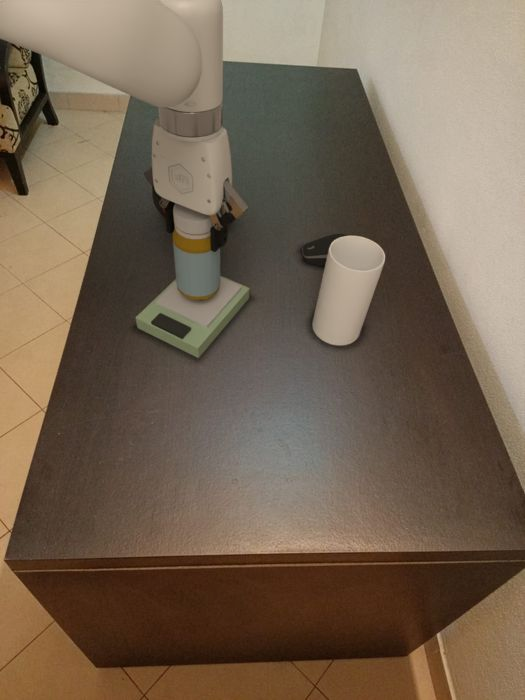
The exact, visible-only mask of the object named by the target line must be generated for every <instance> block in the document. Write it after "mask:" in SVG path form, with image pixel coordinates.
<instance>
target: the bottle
mask: <svg viewBox="0 0 525 700" xmlns="http://www.w3.org/2000/svg"><path fill="white" fill-rule="evenodd" d="M173 214H174V223H175V229H174V232H173V233H172V247H173V257H174V269H175V279H176V282H177V288H178V290H179V292H180V293H181V294H182V295H184V296H185V297H187V298H190V299H193V300H205V299H207V298H210V297H212V296H213V295H214V294H216V293H217V291H218V290H219V288H220V276H221V247H220V248H219V249H218V250H217V251H216V252H213V251H211V239H210V229H211V228H212V227H213V226H214V225H213V223H212V221H211V218H210V216H209V215H205V214H202V213H200V212H197V211H194V210H192V209H189V208H187V207H184V206H182V205H179V204H177V203H175V205H174V208H173Z"/></svg>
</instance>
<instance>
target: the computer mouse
mask: <svg viewBox="0 0 525 700" xmlns="http://www.w3.org/2000/svg"><path fill="white" fill-rule="evenodd" d="M343 236H350V235H348V234H344V233H333V234H330V235H326V236H322V237H320V238H317V239H314V240H312V241H309V242H307V243H305V244H303V246H302V248H301V257H302V259H303V260H304V262H306V263H307V264H310V265H314V266H319V267H325V264H326V260H327V255H328V251H329V247H330V245H331V243H332V242H333V241H334V240H336V239H337V238H340V237H343Z"/></svg>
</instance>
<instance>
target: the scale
mask: <svg viewBox="0 0 525 700" xmlns="http://www.w3.org/2000/svg"><path fill="white" fill-rule="evenodd" d="M249 299H250V287H248V286H246V285H243V284H241V283H239V282H236V281H234V280H232V279H231V278H230V279H229V278H227V277H225V276H223V275H220V288H219V290H218V291H217V293H216V294H214V295H213V296H212V297H210V298H207V299H205V300H193V299H190V298H187V297H185V296H184V295H182V294H181V293H180V292H179V290H178V288H177V282H176V278H175V279H174V280H173V281H172V282H171V283H170V284H169V285H168V286H167V287H166V288H164V289H163V291H161V292H160V294H158V295H157V296H156V297H155V298H154V299H153V300H152V301H151V302H150V303H149V304H148V305H147V306H145V308H143V310H142V311H140V312H139V313H138V314H137V315H136V316H135V323H136V328H137V329H139V330H141V331H143V332H144V333H146V334H149V335H151V336H153V337H155V338H157V339H159V340H161V341H163V342H164V343H167V344H168V345H171V346H173V347H175V348H176V349H179V350H181V351H183V352H185V353H187V354H189V355H191V356H193V357H196V358H197V359H199V358H200V357H201V356H202V355H203V353H204V352H206V350H207V349H208V348H209V347H210V345H211V344H212V343H213V342H214V341H215V339H217V337H218V336H219V335H220V334H221V332H223V331H224V329H225V328H226V326H227V325H228V324H229V323H230V322H231V320H232V319H234V317H235V316H236V315H237V314H238V312H239V311H240V310H241V309H242V307H243V306H244V305H245V304H246V302H248V300H249Z"/></svg>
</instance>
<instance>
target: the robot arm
mask: <svg viewBox="0 0 525 700" xmlns="http://www.w3.org/2000/svg"><path fill="white" fill-rule="evenodd" d="M223 6H224V5H223V2H222V0H0V40H2V41H5V42H8V43H10V44H13V45H15V46H18V47H21V48H23V49H26V50H29V51H31V52H34V53H36V54H39V55H41V56H44V57H46V58H48V59H50V60H52V61H55V62H56V63H59V64H61V65H64V66H66V67H68V68H70V69H72V70H74V71H76V72H79V73H80V74H83V75H85V76H87V77H89V78H91V79H93V80H96V81H98V82H100V83H102V84H104V85H107V86H109V87H110V88H113V89H115V90H117V91H120V92H122V93H124V94H126V95H129V96H131V97H133V98H134V99H138V100H140V101H142V102H144V103H146V104H149V105H151V106H153V107H157V109H158V118H156V119H155V120H154V122H153V130H152V139H151V167H149V168H148V169H146V170H145V171H143V177H144V178H145V179H146V181H147V182H148V184H149V186H151V191H152V190H153V192H154V193H155V194H156V196H157V197H158V198H159V200H160V202H159V203H160V206H161V207H162V208H164V212H165V218H164V221H165V229H166V233H168V234H173V232H174V229H175V223H174V214H173V208H174V205H175V203H177V204H179V205H182V206H184V207H187V208H189V209H192V210H194V211H197V212H200V213H202V214H205V215H209V216H210V218H211V221H212V223H213V225H214V226H213V227H212V228H211V229H210V239H211V251H213V252H216V251H217V250H218V249H219V248H220V249H221V248H222V247H224V246H225V245H226V244H227V242H228V233H229V231H228V228H229V226H230V225H231V224H232V223H233V222H235V221H236V220H238V219H239V218H240V217H241V216H243V215H244V214H245V213H246V212H247V211H248V210H249V206H248V205H247V203H246V202H245V201H244V200H243V198H242V197H241V195H239V193H238V192H237V190H236V189H235V188H234V187H233V168H232V167H233V165H232V155H231V148H230V142H229V141H230V140H229V135H228V131H227V129H226V128H225V127H223V117H224V115H223V106H224V105H223V103H224V102H223V97H224V96H223V95H224V93H223V92H224V91H223V89H224V87H223V86H224V77H223V76H224V74H223V73H224V7H223ZM225 202H228V203H229V204H230V206H231V207H232V210H231V211H229V210H228V208H227V205H226V203H225ZM218 211H220V214H221V217H219V214H218ZM228 225H229V226H228Z"/></svg>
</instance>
